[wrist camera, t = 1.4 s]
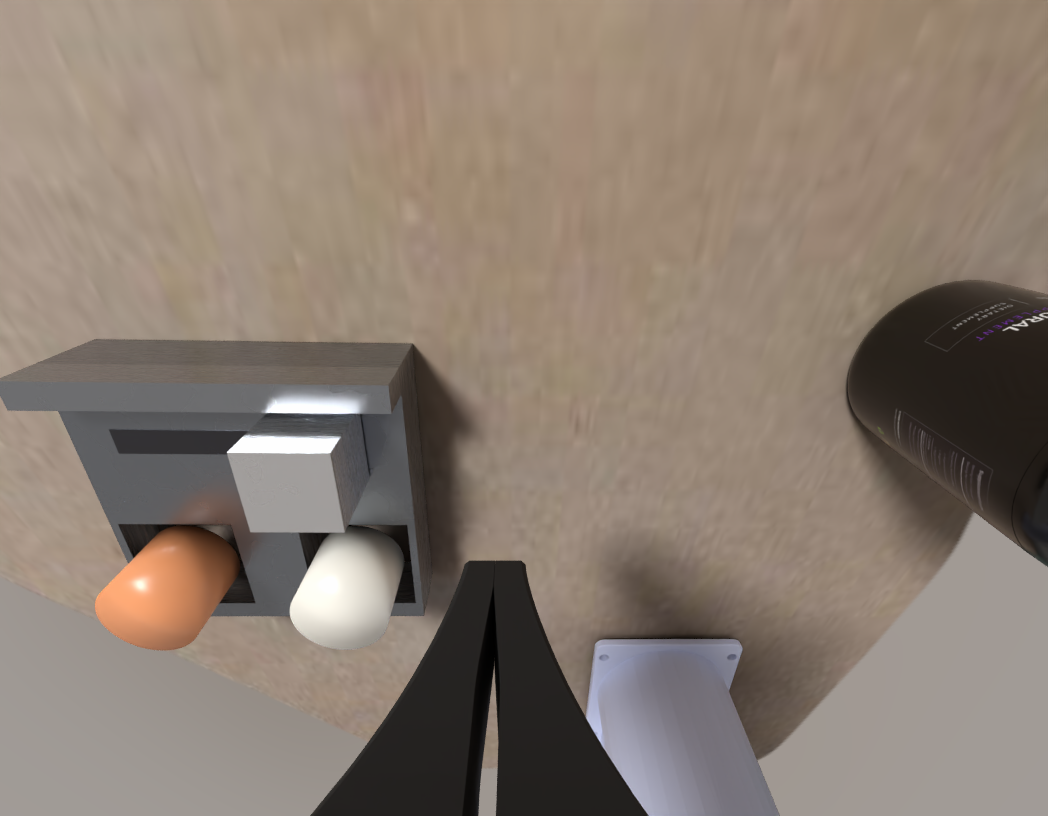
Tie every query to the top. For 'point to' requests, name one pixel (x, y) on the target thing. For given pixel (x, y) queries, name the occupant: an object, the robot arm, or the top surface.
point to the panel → (233, 443)
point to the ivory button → (349, 589)
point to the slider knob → (301, 472)
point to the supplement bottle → (966, 398)
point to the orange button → (169, 588)
